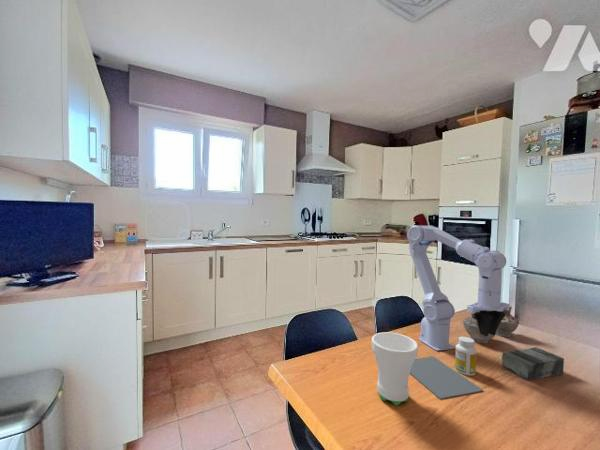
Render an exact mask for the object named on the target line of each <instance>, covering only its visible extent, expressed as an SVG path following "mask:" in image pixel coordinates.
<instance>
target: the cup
mask: <svg viewBox="0 0 600 450" xmlns="http://www.w3.org/2000/svg"><path fill="white" fill-rule="evenodd" d="M371 350H372V352H373V354H374V358H375V360H376V366H377V374H378V376H377V377H378V378H377V379H378V380H377V382H376V390H377V392H378V395H379V397H380V399H381V400H382V401H384V402H385V401H390V402H391V403H392V404H394V405H395V406H399V405H400V404H401V403H402V402H404V403H405V402H408V401H409V395H410V394H409V393H410V392H409V391H410V389H409V378H410V377H409V376H410V374H409V373H410V370H411V367H412V364H413V362H414V360H415V359H418V354H419V352H418V351H419V344H418V343H417V341H415V340H414V339H413V338H411V337H410V336H407V335H404V334H402V333H401V334H400V333H398V332H397V333H396V332H391V331H390V332H385V331H383V332H378V333H375V334H373V336H372V337H371Z"/></svg>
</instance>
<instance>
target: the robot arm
mask: <svg viewBox="0 0 600 450" xmlns="http://www.w3.org/2000/svg"><path fill="white" fill-rule="evenodd" d="M406 237H407V240H408V245H409V247H408V248H409V249H408V250H409V254H410V256H411V259H412V261H413V264H414V267H415V270H416V274H417V275H418V278H419V282H420V284H421V287H422V289H423V290H422V291H423V292H424V297H423V299H422V300H421V303H422V306H423V307H422V308H423V311H422V312H423V314H424V317H423V318H422V319H421V321H420V334H419V335H420V336H419V337H418V340H419V342H421V343H424V344H425V345H426V346H428V347H430V348H431V349H433V350H434V351H436V352H438V351H439V352H440V351H446V350H447V351H448V350H454V349H455V350H456V346H453V345H452V344H451V343H450V332H451V331H450V330H451V329H450V328H451V327H450V325H451V319H452V318H454V316H455V313H456V310H455V309H456V308H455V307H454V304H452V303H451V302H450V300H449V298H448V296H447V295H446V294H444V293H443V292H442V291H441V288H440V286H439V284H438V281H437V277H436V275H435V273H434V271H433V267H432V264H431V262H430V260H429V257H428V254H427V250H428V248H429V247H430V246H431V245H432V244H433V243H434V241H437V242H439V243H440V244H443V245H446V246H448V247H451V248H453V249H454V250H455V251H456V254H457V255H458V256H461V257H463V258H465V260H468V261H470V262H471V263H473V264H475V266H476V267H477V269H478V285H477V287H478V288H477V289H478V290H477V291H478V292H477V302H475V303H472V304H468V305H467V306H466V312H467V313H470V314H471V313H472V314H474V316H475V318H476V320H477V323H478V327H479V331H480V334H482V335H484V336H488V334H491V335H495V333H496V331H497V328H498V326H499V324H500V322H501V321H502V319H503V318H504V317H505V313H503V312H501V311H503V310H507V311H508V310H510V303H506V302H501V299H502V297H501V296H502V279H503V278H502V276H503V269H504V268H505V267H506V265H507V258H506V256H505V255H504V254H503V253H501V251H499V250H490V248H489V247H488V246H482V245H480V244H478V243H476V241H475V239H472V238H471V239H462V240H461V239H459V238H457V237H455V236H453V235H452V234H450V233H448V232H446V231H444V230H443V229H440V227H436V226H434V225H431V224H430V225H418V224H417V225H416V224H415V225H414V224H413V225H412V226H410V228H409V229H408V231H407V233H406ZM495 336H496V335H495Z"/></svg>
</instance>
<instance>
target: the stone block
mask: <svg viewBox="0 0 600 450" xmlns="http://www.w3.org/2000/svg"><path fill="white" fill-rule="evenodd" d="M501 360H502V363H501V364H502V366H503V367H504V368H506V369H507V370H509V371H510V372H512V373H514V374H516V375H517V376H518V377H520V378H522V379H524V380H525V381H527V382H528V381H533V380H539V379H542V378H545V377H555V376H562V375H563V374H564V364H565V358H564V357H562V356H559V355H557V354H554V353H552V352H549V351H547V350H544V349H541V348H539V347H538V346H535V347H529V348H526V349H525V348H524V349H519V350H517V349H515V350H511V351H507V352H502V355H501Z"/></svg>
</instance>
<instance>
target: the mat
mask: <svg viewBox="0 0 600 450" xmlns="http://www.w3.org/2000/svg"><path fill="white" fill-rule="evenodd" d="M409 375H411V376H412V377H413V379H416V381H417V382H419V383H420V384H421V385H422V386H423V387H424V388H426V389H427V390H428V391H429V392H431V393H432V394H433V395H434V396H435V397H436V398H438V400H443V399H449V398H453V397H460V396H466V395H470V394H478V393H482V392H484V389H482V388H481V387H479V386H478V385H477V384H475V383H474V382H472V381H470V380H469V379H468V378H466V377H465V376H464V375H463V374H461V373H459V372H458V371H457V370H454V369H453V368H451V367H450V366H449V365H447V364H445V363H444V362H442V361H441V360H439V358H436V357H435V356H428V357H426V356H425V357H420V358H418V357H417V358H416V359H415V360H414V362H413V364H412V367H411V370H410V373H409Z"/></svg>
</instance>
